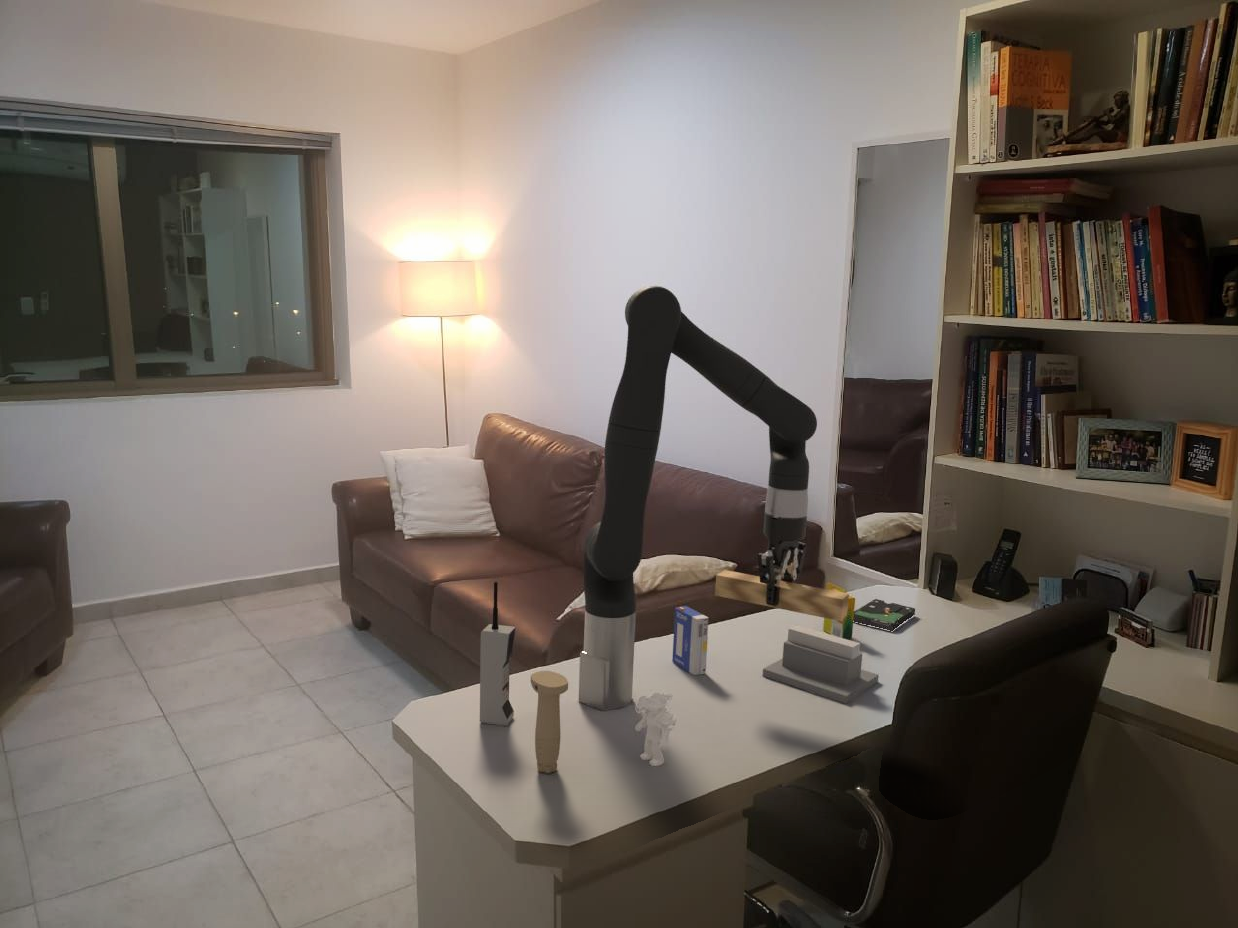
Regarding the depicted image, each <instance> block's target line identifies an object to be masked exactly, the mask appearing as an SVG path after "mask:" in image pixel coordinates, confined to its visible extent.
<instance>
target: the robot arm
mask: <svg viewBox="0 0 1238 928" xmlns="http://www.w3.org/2000/svg"><path fill="white" fill-rule="evenodd" d="M624 318H625V323H626V325H627V341H626V343H627V344H626V353H625V360H624V365H623V366H624V367H623V371H622V373H621V377H620V380H619V383H618V386H617V389H616V392H615V395H614V398H613V401H612V403H611V404H612V405H611V409H610V411H609V412H610V413H609V418H608V423H607V430H606V436H605V441H604V442H605V443H604V455H603V456H604V459H603V461H604V464H603V465H604V467H603V468H604V484H605V485H604V486H605V487H604V489H605V492H604V495H605V497H604V505H603V509H602V515H601V520H600V521H599V522H597V523H595V524H594V525H593V526H592V527H591V528H590V529H589V531H588V533H587V535H586V538H585V541H584V550H583V551H584V552H583V591H584V601H585V602H584V635H583V636H584V637H583V650H582V651H581V652H580V653H579V672H578V673H579V677H578V678H579V679H578V702H580V703H583V704H585V705H587V706H590V707H593V708H594V709H596V710H600V711H602V712H604V711H605V712H606V711H607V710H616V709H620V708H621V709H622V708H623V707H626V706H628V705H629V704H631V703H632V701H633V682H634V659H635V657H634V656H635V636H636V635H635V633H636V618H637V617H636V613H637V596H636V590H635V583H634V582H635V581H634V573H636V570H637V569H638V567H639V565H640V563H641V561H642V556H643V547H644V545H643V543H644V528H645V514H646V506H647V501H648V495H649V491H650V487H651V483H652V478H653V473H654V468H655V463H656V456H657V455H658V454H657V453H658V448H659V443H660V442H659V441H660V436H661V430H662V425H663V424H662V422H663V415H664V406H665V399H666V398H665V397H666V395H665V394H666V382H667V373H668V367H669V365H670V359H671V355H672V354H673V355H674V356H676V357H677V358H679V359H680V360H682V361H683V362H685V363H686V364H687V365H689V366H690V367H691V368H692V369H694V370H695V371H696V372H697V373H698V374H699V375H701V376H702V377H703V378H704V379H706V380H707V381H708V382H709V383H710V384H711V385H713V386H714V387H715V388H717V389H718V390H719V391H720V392H721V393H722V394H723V395H725V396H727V397H728V398H729V400H731V401H733V402H735V403H736V404H737V405H739V406H740V407H741V408H742V409H744V410H745V411H747V412H749V413H750V414H752V415H754V416H756V417H757V418H759V419H760V420H761V421H762V422H764V424H765V425H766V426H768V437H769V438H768V440H769V453H770V463H769V470H768V471H769V472H768V483H767V491H766V495H765V496H766V497H765V505H764V521H763V535H764V536H765V537H767V538H768V545H767V549H766V552H763V553H762V552H759V553H758V554H757V563H758V576H759V577H760V582H761V583H765V584H767V595H766V603H767V604H768V605H771V606H777V605H778V603H779V590H780V586H779V585H780V581H785V582H791V583H795V580H796V579H797V575H802V571H803V566H804V561H805V558H806V557H805V556H806V552H807V548H808V545H807V543H805V542H801V541H802V540H804V539H805V538H806V533H807V532H806V531H807V522H808V521H807V519H808V508H809V507H808V506H809V494H808V492H809V489H808V487H809V478H810V462H809V459H808V456H807V455H806V447H807V446H806V445H807V444H806V443H807V441H808V440H811V438H812V437H813V436H814V435H815V433H816V431H817V427H818V420H817V419H818V418H817V416H816V414H815V412H814V410H812V408H811V407H809V405H807V404H805V403H804V402H803V401H802V400H800V399H798V398H797V397H796V396H794V394H791V393H789V391H787V390H785V389H783V388H782V387H781V386H779V385H778V384H776V383H775V382H774V381H773V380H772V379H771V378H770V377H769V376H768V375H767V374H765V373H764V372H763V371H762V370H760V369H759V368H757V367H756V366H755V365H753V364H752V363H751V362H749V361H748V360H747V359H745V358H744V357H742V356H741V355H740V354H738V353H737V352H735V351H734V350H732V349H730V348H729V347H727V346H725V345H724V344H723V343H721V342H719V341H718V340H716V339H714V337H711V336H710V335H709V334H707V333H706V332H704V331H703V330H702V329H701V328H699V327H698V326H697V325H696V324H695V323H693V321H691V320H690V319H689V318H688V317H687V316H686V314H684V313H683V311H682V308H681V304H680V302H679V300H678V298H677V297H676V295H675V294H674V293H673V292H672V291H671V290H669V289H667V288H666V287H663V286H658V285H652V286H647V287H643V288H640V289H639V290H636V291H635V292H634V293H633V294H631V296H630V297H629V299H628V300H627V302H626V305H625V308H624ZM775 567H776V568H775Z"/></svg>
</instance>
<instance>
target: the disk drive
mask: <svg viewBox="0 0 1238 928" xmlns="http://www.w3.org/2000/svg"><path fill="white" fill-rule="evenodd" d="M915 614H916V607H912V606H911V607H910V606H907V605H902V604H900V603H899V604H898V603H894V602H890V603H887V602H885V600H882V599H877V598H875V599H873V600H871V601H870V602H868V603H866V604H864V605H862V606H861V607H859V608H858V609H856V610H854V620H853V621H854V622H858V623H862V624H866V625H871V626H875V627H879V628H883V629H887V630H890V631H893V630H894V629H895V628H897V627H898V626H899V625H900V624H902V623H903V622H904V621H906V620H907V619H909V618H911V617H912V616H913V615H915ZM893 632H894V631H893Z"/></svg>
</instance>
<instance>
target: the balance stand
mask: <svg viewBox="0 0 1238 928" xmlns="http://www.w3.org/2000/svg"><path fill="white" fill-rule="evenodd" d="M860 647H861V643H860V642H857V641H854V640H847V639H843V638H840V637H836V636H833V635H830V634H829V633H827V632H823V631H818V630H815V629H811V628H808V627H804V626H800V625H797V624H795V625H793V626H791V627H789V628H788V634H787V640H786V641H784V642H783V647H782V648H783V649H782V658H781V659H779V660H777V661H775V662H773V663H772V664H770V665H767V666H766V667H764V668H762V677H765V678H768V679H770V680H773V681H776V682H779V683H782V684H785V685H789V686H792V687H794V688H797V689H801V690H804V691H807V692H809V693H812V692H813V693H812V694H816V695H818V696H822V697H825V698H828V699H830V700H833V701H835V702H840V703H843V704H847V703H849V702H850V701H852V700H853V699H855V698H856V697H858V696H859V695H861V694H862V693H864V692H866V691H867V690H868V689H870V688H872V687H873V686H874V685H876V684H877V683H879V674H878V673H874V672H871V671H869V670H868V671H867V670H864V669H862V665H863V663H862V662H863V653H862V652H860V649H861V648H860ZM875 683H876V684H875ZM872 685H873V686H872Z"/></svg>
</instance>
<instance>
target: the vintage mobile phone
mask: <svg viewBox="0 0 1238 928" xmlns="http://www.w3.org/2000/svg"><path fill="white" fill-rule="evenodd" d="M498 584H499V583H498V581H494V582H493V607H492V623H489V624H487V626H486V627H484V629H483V630H482V631H481V632H480V665H479V667H480V669H479V670H480V672H479V675H480V677H479V723H481V724H488V725H496V726H503V727H506V726H508V724H509V723H510V722H511V720H512V719H513V718H514V717H515V711H514V709H513V706H512V704H511V702H510V665H511V664H510V663H511V661H510V659H511V656H513V653H514V644H515V638H516V637H515V635H516V626H512V625H511V626H510V625H502V624H499V619H498V618H499V610H498V608H499V607H498V591H499V590H498Z"/></svg>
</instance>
